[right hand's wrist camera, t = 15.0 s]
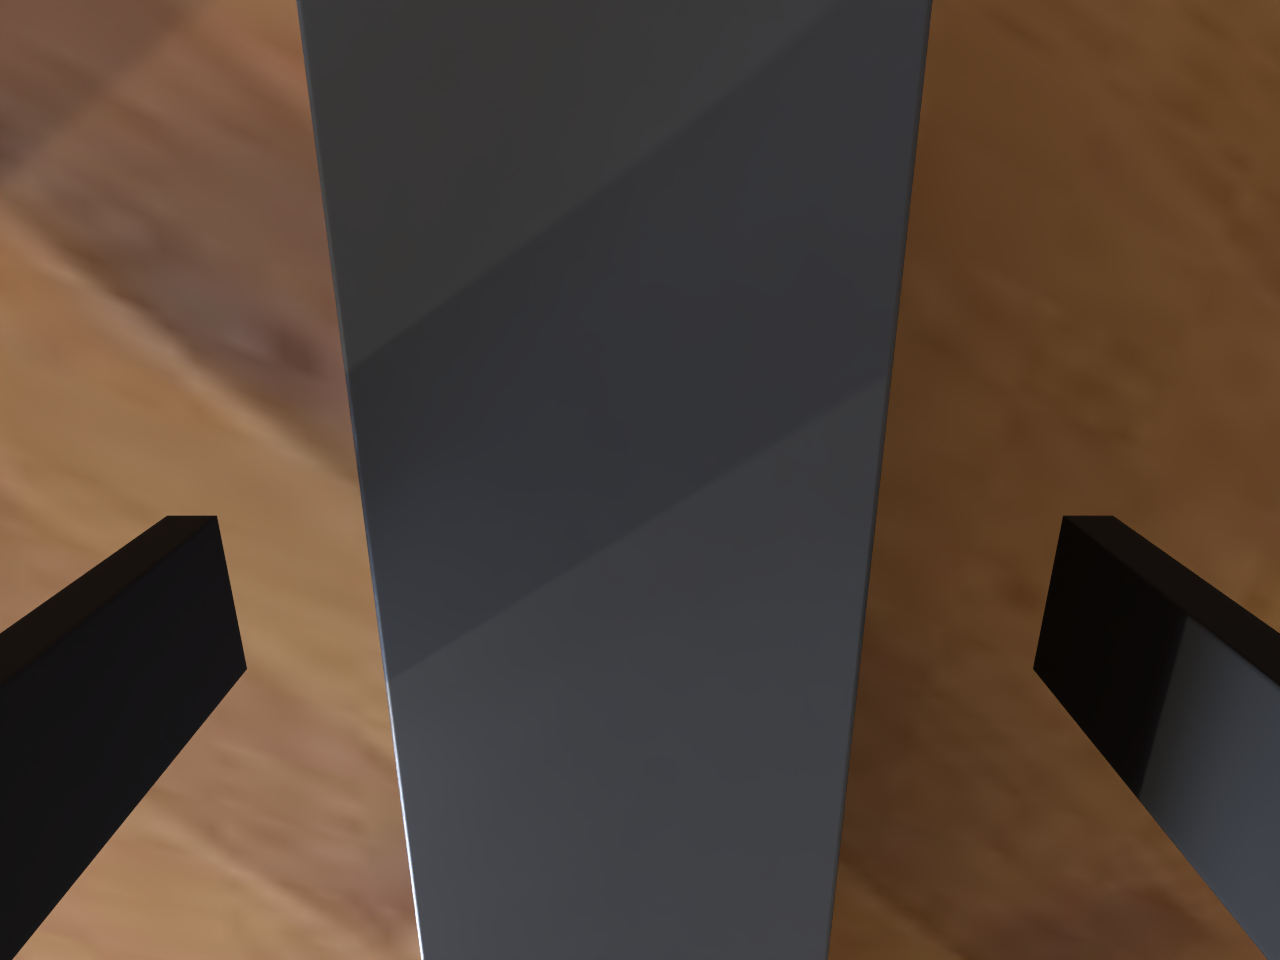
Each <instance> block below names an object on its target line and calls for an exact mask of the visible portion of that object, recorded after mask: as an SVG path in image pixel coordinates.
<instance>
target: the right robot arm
mask: <svg viewBox="0 0 1280 960" xmlns="http://www.w3.org/2000/svg"><path fill="white" fill-rule="evenodd" d="M246 669H247V667H246V661H245V656H244V651H243V646H242V641H241V636H240V631H239V626H238V621H237V616H236V611H235V606H234V601H233V595H232V590H231V585H230V580H229V575H228V570H227V565H226V560H225V555H224V550H223V545H222V540H221V534H220V529H219V524H218V519H217V516H166V517H165V518H163V519H162V520H160V521H159V522H158V523H156V524H155V525H153V526H152V527H151V528H149V529H148V530H146V531H145V532H143V533H142V534H141V535H139V536H138V537H136V538H135V539H134V540H132V541H131V542H129V543H128V544H126V545H125V546H124V547H122V548H121V549H119V550H118V551H117V552H115V553H114V554H112V555H111V556H109V557H108V558H107V559H105V560H104V561H102V562H101V563H100V564H98V565H97V566H95V567H94V568H92V569H91V570H90V571H88V572H87V573H85V574H84V575H83V576H81V577H80V578H78V579H77V580H75V581H74V582H73V583H71V584H70V585H68V586H67V587H66V588H64V589H63V590H61V591H60V592H58V593H57V594H56V595H54V596H53V597H51V598H50V599H49V600H47V601H46V602H44V603H43V604H41V605H40V606H39V607H37V608H36V609H34V610H33V611H31V612H30V613H29V614H27V615H26V616H24V617H23V618H22V619H20V620H19V621H17V622H16V623H14V624H13V625H12V626H10V627H9V628H7V629H6V630H5V631H3V632H2V633H0V960H12V959H13V958H14V957H15V956H16V954H17V953H18V952H19V951H20V949H21V948H22V947H23V946H24V944H25V943H26V942H27V941H28V939H29V938H30V937H31V936H32V935H33V933H34V932H35V931H36V930H37V928H38V927H39V926H40V925H41V923H42V922H43V921H44V920H45V918H46V917H47V916H48V915H49V913H50V912H51V911H52V910H53V908H54V907H55V906H56V905H57V904H58V902H59V901H60V900H61V899H62V897H63V896H64V895H65V894H66V892H67V891H68V890H69V889H70V887H71V886H72V885H73V884H74V882H75V881H76V880H77V879H78V878H79V876H80V875H81V874H82V873H83V871H84V870H85V869H86V868H87V866H88V865H89V864H90V863H91V861H92V860H93V859H94V858H95V856H96V855H97V854H98V853H99V852H100V850H101V849H102V848H103V847H104V845H105V844H106V843H107V842H108V840H109V839H110V838H111V837H112V835H113V834H114V833H115V832H116V830H117V829H118V828H119V827H120V826H121V824H122V823H123V822H124V821H125V819H126V818H127V817H128V816H129V814H130V813H131V812H132V811H133V809H134V808H135V807H136V806H137V804H138V803H139V802H140V801H141V799H142V798H143V797H144V796H145V795H146V793H147V792H148V791H149V790H150V788H151V787H152V786H153V785H154V783H155V782H156V781H157V780H158V778H159V777H160V776H161V775H162V773H163V772H164V771H165V770H166V769H167V767H168V766H169V765H170V764H171V762H172V761H173V760H174V759H175V757H176V756H177V755H178V754H179V752H180V751H181V750H182V749H183V747H184V746H185V745H186V744H187V743H188V741H189V740H190V739H191V738H192V736H193V735H194V734H195V733H196V731H197V730H198V729H199V728H200V726H201V725H202V724H203V723H204V721H205V720H206V719H207V718H208V717H209V715H210V714H211V713H212V712H213V710H214V709H215V708H216V707H217V705H218V704H219V703H220V702H221V700H222V699H223V698H224V697H225V695H226V694H227V693H228V692H229V691H230V689H231V688H232V687H233V686H234V684H235V683H236V682H237V681H238V679H239V678H240V677H241V676H242V674H243V673H244V672H245V671H246ZM1033 669H1034V671H1035V672H1036V673H1037V674H1038V676H1039V677H1040V678H1041V679H1042V681H1043V682H1044V683H1045V684H1046V686H1047V687H1048V688H1049V689H1050V691H1051V692H1052V693H1053V694H1054V695H1055V697H1056V698H1057V699H1058V700H1059V702H1060V703H1061V704H1062V705H1063V707H1064V708H1065V709H1066V710H1067V712H1068V713H1069V714H1070V715H1071V717H1072V718H1073V719H1074V720H1075V721H1076V723H1077V724H1078V725H1079V726H1080V728H1081V729H1082V730H1083V731H1084V733H1085V734H1086V735H1087V736H1088V738H1089V739H1090V740H1091V741H1092V743H1093V744H1094V745H1095V746H1096V747H1097V749H1098V750H1099V751H1100V752H1101V754H1102V755H1103V756H1104V757H1105V759H1106V760H1107V761H1108V762H1109V764H1110V765H1111V766H1112V767H1113V769H1114V770H1115V771H1116V772H1117V773H1118V775H1119V776H1120V777H1121V778H1122V780H1123V781H1124V782H1125V783H1126V785H1127V786H1128V787H1129V788H1130V790H1131V791H1132V792H1133V793H1134V795H1135V796H1136V797H1137V798H1138V799H1139V801H1140V802H1141V803H1142V804H1143V806H1144V807H1145V808H1146V809H1147V811H1148V812H1149V813H1150V814H1151V816H1152V817H1153V818H1154V819H1155V821H1156V822H1157V823H1158V824H1159V826H1160V827H1161V828H1162V829H1163V830H1164V832H1165V833H1166V834H1167V835H1168V837H1169V838H1170V839H1171V840H1172V842H1173V843H1174V844H1175V845H1176V847H1177V848H1178V849H1179V850H1180V852H1181V853H1182V854H1183V855H1184V856H1185V858H1186V859H1187V860H1188V861H1189V863H1190V864H1191V865H1192V866H1193V868H1194V869H1195V870H1196V871H1197V873H1198V874H1199V875H1200V876H1201V878H1202V879H1203V880H1204V881H1205V882H1206V884H1207V885H1208V886H1209V887H1210V889H1211V890H1212V891H1213V892H1214V894H1215V895H1216V896H1217V897H1218V899H1219V900H1220V901H1221V902H1222V904H1223V905H1224V906H1225V907H1226V908H1227V910H1228V911H1229V912H1230V913H1231V915H1232V916H1233V917H1234V918H1235V920H1236V921H1237V922H1238V923H1239V925H1240V926H1241V927H1242V928H1243V930H1244V931H1245V932H1246V933H1247V934H1248V936H1249V937H1250V938H1251V939H1252V941H1253V942H1254V943H1255V944H1256V946H1257V947H1258V948H1259V949H1260V951H1261V952H1262V953H1263V954H1264V956H1265V957H1266V958H1267V959H1268V960H1280V633H1278V632H1277V631H1275V630H1274V629H1273V628H1271V627H1270V626H1268V625H1267V624H1266V623H1264V622H1263V621H1261V620H1260V619H1258V618H1257V617H1256V616H1254V615H1253V614H1251V613H1250V612H1249V611H1247V610H1246V609H1244V608H1243V607H1241V606H1240V605H1239V604H1237V603H1236V602H1234V601H1233V600H1232V599H1230V598H1229V597H1227V596H1226V595H1224V594H1223V593H1222V592H1220V591H1219V590H1217V589H1216V588H1214V587H1213V586H1212V585H1210V584H1209V583H1207V582H1206V581H1205V580H1203V579H1202V578H1200V577H1199V576H1197V575H1196V574H1195V573H1193V572H1192V571H1190V570H1189V569H1188V568H1186V567H1185V566H1183V565H1182V564H1180V563H1179V562H1178V561H1176V560H1175V559H1173V558H1172V557H1171V556H1169V555H1168V554H1166V553H1165V552H1163V551H1162V550H1161V549H1159V548H1158V547H1156V546H1155V545H1154V544H1152V543H1151V542H1149V541H1148V540H1146V539H1145V538H1144V537H1142V536H1141V535H1139V534H1138V533H1137V532H1135V531H1134V530H1132V529H1131V528H1129V527H1128V526H1127V525H1125V524H1124V523H1122V522H1121V521H1120V520H1118V519H1117V518H1115V517H1114V516H1063V519H1062V524H1061V529H1060V534H1059V540H1058V545H1057V550H1056V555H1055V560H1054V565H1053V570H1052V575H1051V580H1050V585H1049V590H1048V595H1047V601H1046V606H1045V611H1044V616H1043V621H1042V626H1041V631H1040V636H1039V641H1038V646H1037V651H1036V656H1035V662H1034V667H1033Z"/></svg>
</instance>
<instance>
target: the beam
mask: <svg viewBox="0 0 1280 960" xmlns="http://www.w3.org/2000/svg"><path fill="white" fill-rule="evenodd" d="M296 1H297V8H298V16H299V24H300V31H301V39H302V47H303V54H304V62H305V70H306V77H307V85H308V93H309V100H310V108H311V116H312V123H313V131H314V139H315V146H316V154H317V162H318V169H319V177H320V185H321V193H322V200H323V208H324V216H325V223H326V231H327V239H328V246H329V254H330V262H331V269H332V277H333V285H334V292H335V300H336V308H337V315H338V323H339V331H340V338H341V346H342V354H343V361H344V369H345V377H346V384H347V392H348V400H349V407H350V415H351V423H352V430H353V438H354V446H355V453H356V461H357V469H358V476H359V484H360V492H361V499H362V507H363V515H364V522H365V530H366V538H367V546H368V553H369V561H370V569H371V576H372V584H373V592H374V599H375V607H376V615H377V622H378V630H379V638H380V645H381V653H382V661H383V668H384V676H385V684H386V691H387V699H388V707H389V714H390V722H391V730H392V737H393V745H394V753H395V760H396V768H397V776H398V783H399V791H400V799H401V806H402V814H403V822H404V829H405V837H406V845H407V852H408V860H409V868H410V875H411V883H412V891H413V899H414V906H415V914H416V922H417V929H418V937H419V945H420V952H421V960H828V954H829V944H830V935H831V926H832V917H833V908H834V899H835V889H836V880H837V871H838V862H839V853H840V844H841V834H842V825H843V816H844V807H845V798H846V789H847V779H848V770H849V761H850V752H851V743H852V734H853V724H854V715H855V706H856V697H857V688H858V679H859V669H860V660H861V651H862V642H863V633H864V623H865V614H866V605H867V596H868V587H869V578H870V568H871V559H872V550H873V541H874V532H875V523H876V513H877V504H878V495H879V486H880V477H881V468H882V458H883V449H884V440H885V431H886V422H887V413H888V403H889V394H890V385H891V376H892V367H893V358H894V348H895V339H896V330H897V321H898V312H899V303H900V293H901V284H902V275H903V266H904V257H905V248H906V238H907V229H908V220H909V211H910V202H911V193H912V183H913V174H914V165H915V156H916V147H917V137H918V128H919V119H920V110H921V101H922V92H923V82H924V73H925V64H926V55H927V46H928V37H929V27H930V18H931V9H932V0H296Z"/></svg>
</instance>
